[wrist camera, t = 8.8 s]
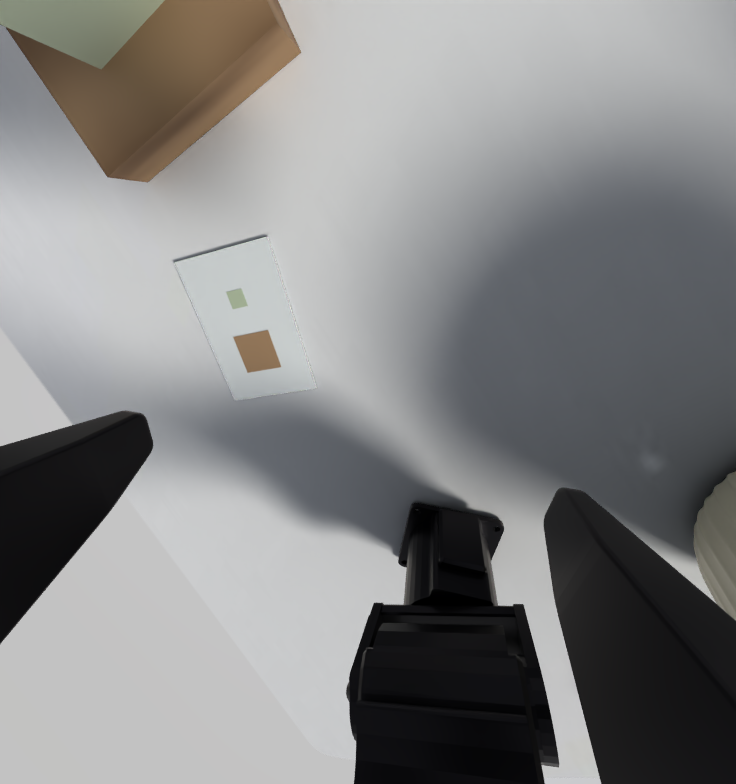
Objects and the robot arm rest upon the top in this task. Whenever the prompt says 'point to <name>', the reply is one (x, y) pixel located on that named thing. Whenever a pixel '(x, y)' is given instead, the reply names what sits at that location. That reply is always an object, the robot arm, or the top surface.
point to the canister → (718, 543)
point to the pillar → (79, 24)
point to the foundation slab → (166, 80)
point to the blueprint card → (248, 319)
